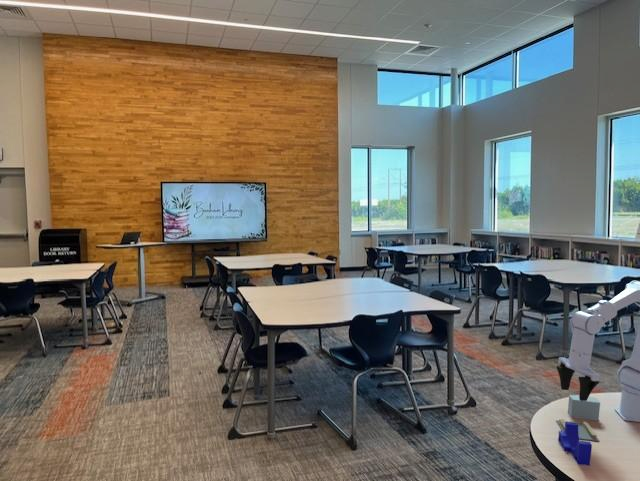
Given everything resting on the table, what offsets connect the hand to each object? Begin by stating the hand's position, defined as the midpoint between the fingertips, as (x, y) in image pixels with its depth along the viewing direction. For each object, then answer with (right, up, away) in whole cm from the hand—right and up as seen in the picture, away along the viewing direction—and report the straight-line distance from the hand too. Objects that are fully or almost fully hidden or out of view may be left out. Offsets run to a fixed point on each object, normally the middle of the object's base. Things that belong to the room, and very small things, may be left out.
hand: (573, 394), depth 144 cm
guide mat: (0, -11, -1) cm, 11 cm away
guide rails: (0, -11, -1) cm, 11 cm away
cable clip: (-7, -12, -13) cm, 19 cm away
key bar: (+8, -10, +9) cm, 15 cm away
